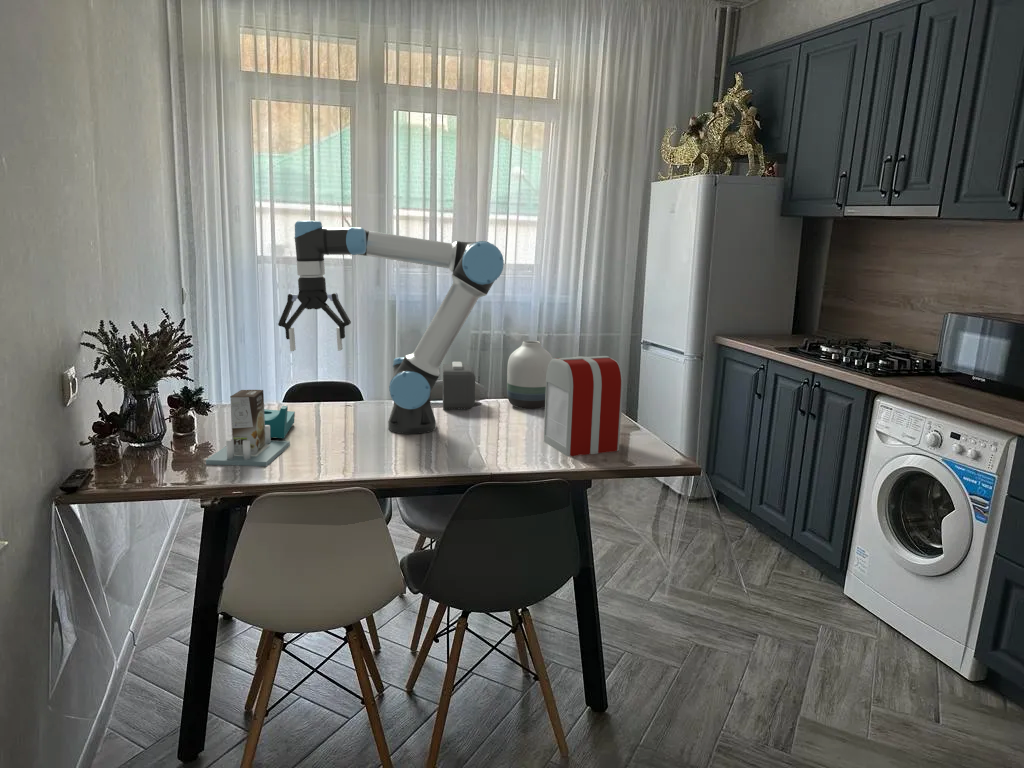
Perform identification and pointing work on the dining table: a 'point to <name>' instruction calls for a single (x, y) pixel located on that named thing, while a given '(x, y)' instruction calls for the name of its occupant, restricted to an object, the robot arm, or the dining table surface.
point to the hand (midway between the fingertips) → (316, 350)
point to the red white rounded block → (583, 405)
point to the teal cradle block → (279, 421)
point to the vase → (528, 375)
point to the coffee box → (248, 420)
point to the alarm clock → (458, 386)
